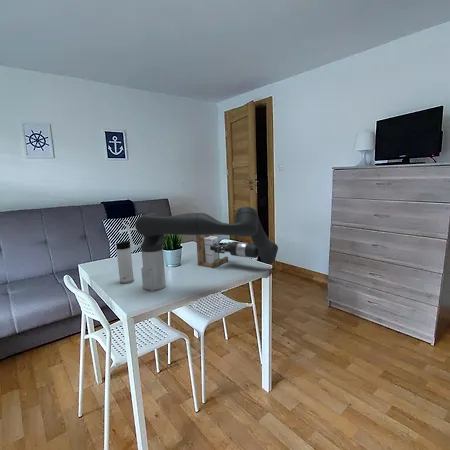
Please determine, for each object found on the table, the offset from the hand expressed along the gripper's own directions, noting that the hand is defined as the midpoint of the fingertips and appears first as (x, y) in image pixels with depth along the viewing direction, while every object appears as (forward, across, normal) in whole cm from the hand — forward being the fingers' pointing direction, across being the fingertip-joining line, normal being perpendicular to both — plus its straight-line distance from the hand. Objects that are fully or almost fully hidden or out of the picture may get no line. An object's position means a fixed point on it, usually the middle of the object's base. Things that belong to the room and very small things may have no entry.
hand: (214, 246), depth 155 cm
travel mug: (+23, +42, +10) cm, 49 cm away
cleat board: (+2, 0, +10) cm, 10 cm away
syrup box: (+2, 0, +10) cm, 10 cm away
